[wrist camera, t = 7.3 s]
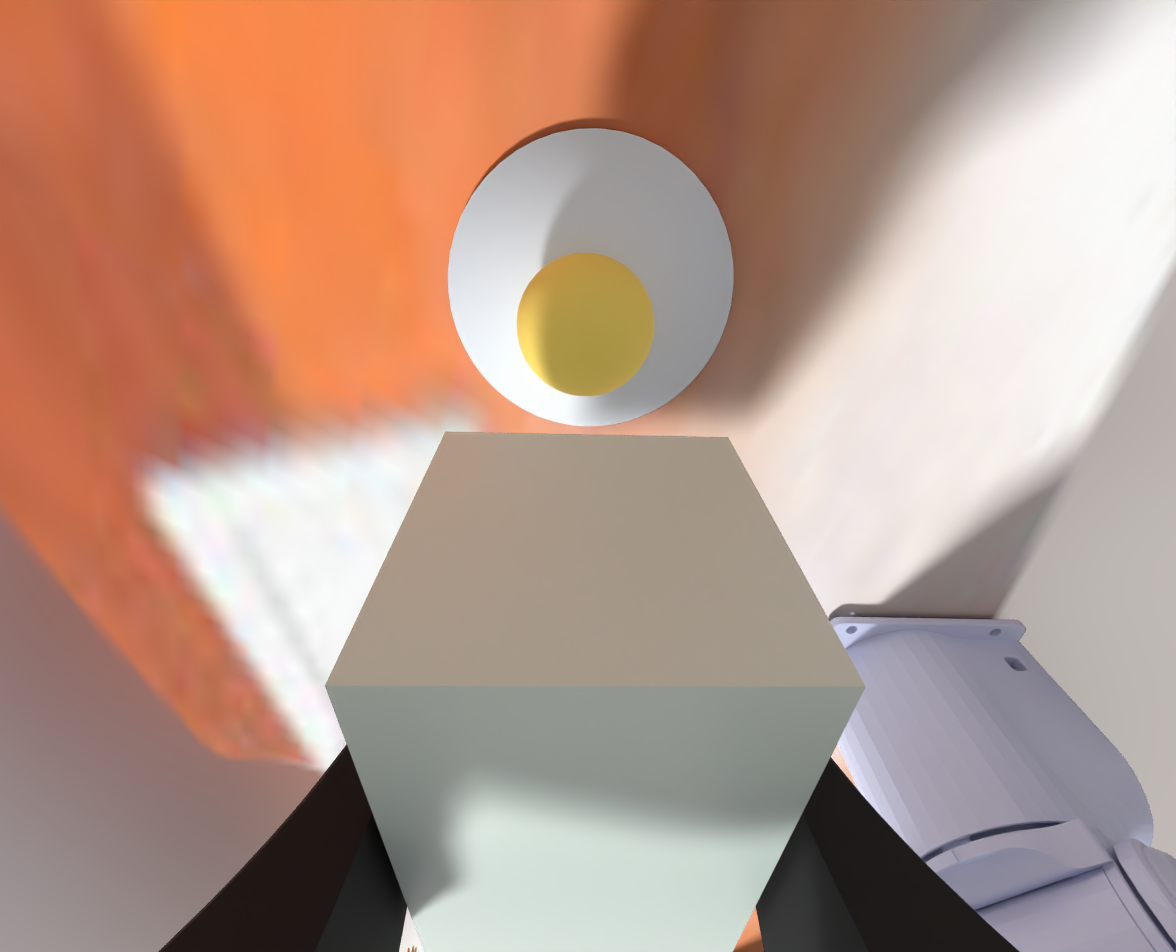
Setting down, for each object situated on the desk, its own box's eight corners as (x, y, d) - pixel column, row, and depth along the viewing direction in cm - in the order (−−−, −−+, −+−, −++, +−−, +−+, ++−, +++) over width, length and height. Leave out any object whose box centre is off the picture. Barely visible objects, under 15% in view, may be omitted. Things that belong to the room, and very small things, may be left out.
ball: (673, 320, 12) (650, 423, 16) (656, 222, 14) (639, 331, 18) (505, 320, 12) (519, 424, 16) (513, 221, 14) (524, 331, 18)
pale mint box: (727, 437, 11) (864, 686, 6) (672, 718, 16) (717, 980, 11) (445, 431, 11) (324, 686, 6) (481, 718, 16) (437, 985, 11)
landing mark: (760, 137, 14) (762, 137, 14) (706, 427, 19) (707, 430, 19) (434, 119, 14) (432, 118, 14) (461, 419, 19) (460, 422, 18)
